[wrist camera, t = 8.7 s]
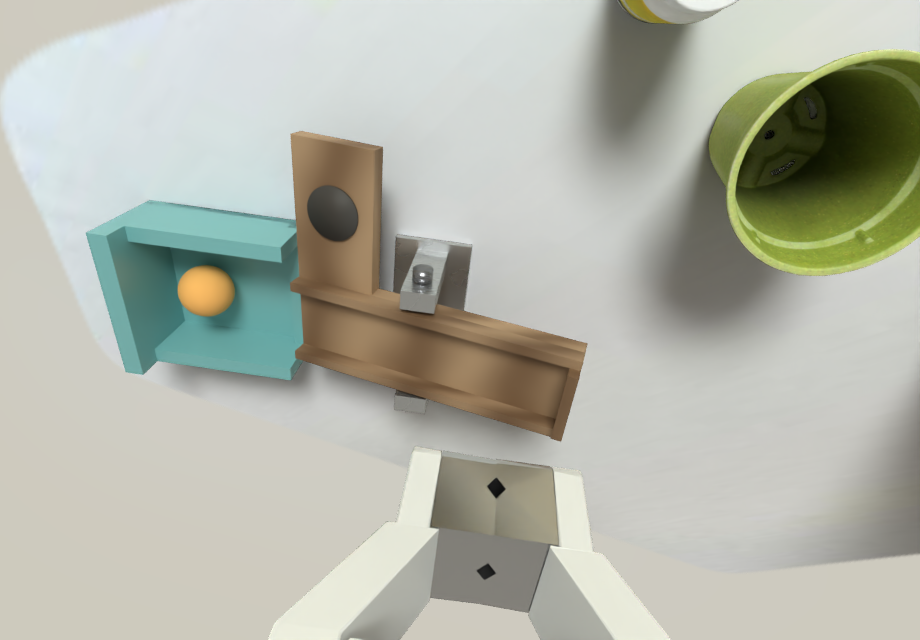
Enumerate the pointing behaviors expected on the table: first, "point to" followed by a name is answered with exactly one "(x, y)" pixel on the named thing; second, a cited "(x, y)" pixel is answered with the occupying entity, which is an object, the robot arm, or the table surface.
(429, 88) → the table surface
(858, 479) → the table surface
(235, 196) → the table surface
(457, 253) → the fulcrum
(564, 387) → the lever
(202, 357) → the teal tray
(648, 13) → the supplement bottle
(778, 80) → the plant pot
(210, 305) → the ball
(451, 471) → the robot arm
